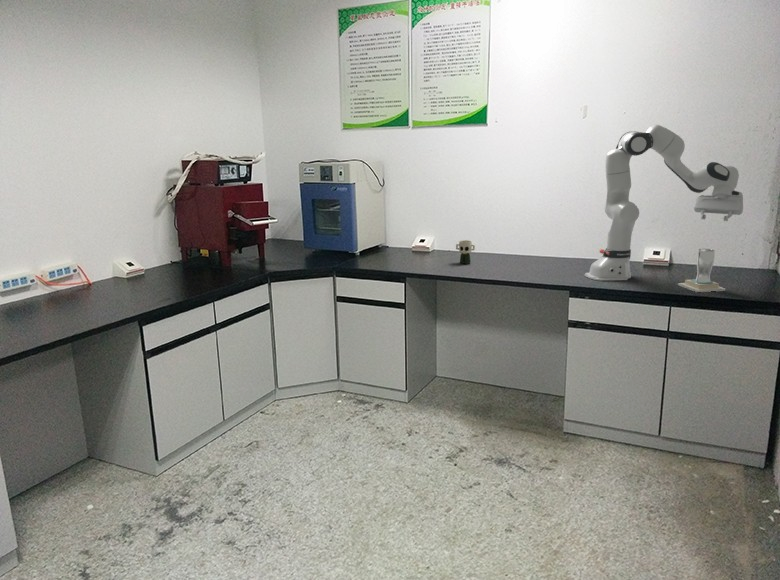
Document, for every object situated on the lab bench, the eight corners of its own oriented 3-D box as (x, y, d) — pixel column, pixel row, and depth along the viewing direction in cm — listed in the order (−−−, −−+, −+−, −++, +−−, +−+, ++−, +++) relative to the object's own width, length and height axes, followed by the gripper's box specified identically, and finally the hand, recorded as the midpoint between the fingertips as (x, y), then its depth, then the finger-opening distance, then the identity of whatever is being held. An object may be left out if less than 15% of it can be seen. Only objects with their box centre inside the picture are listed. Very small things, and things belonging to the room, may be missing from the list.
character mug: (454, 264, 329) (454, 242, 326) (457, 261, 336) (457, 239, 332) (473, 265, 326) (473, 242, 322) (475, 262, 332) (476, 240, 329)
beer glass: (706, 284, 261) (710, 252, 258) (691, 281, 267) (694, 249, 263) (714, 281, 265) (718, 250, 261) (699, 279, 271) (703, 248, 267)
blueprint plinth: (697, 292, 260) (698, 285, 259) (677, 285, 273) (678, 278, 272) (725, 290, 262) (726, 284, 261) (704, 283, 275) (705, 277, 274)
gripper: (697, 191, 275) (689, 213, 271) (745, 192, 262) (738, 216, 258) (698, 199, 280) (690, 221, 275) (746, 201, 266) (739, 225, 262)
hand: (714, 219), depth 266 cm, fingers open, 8 cm apart
